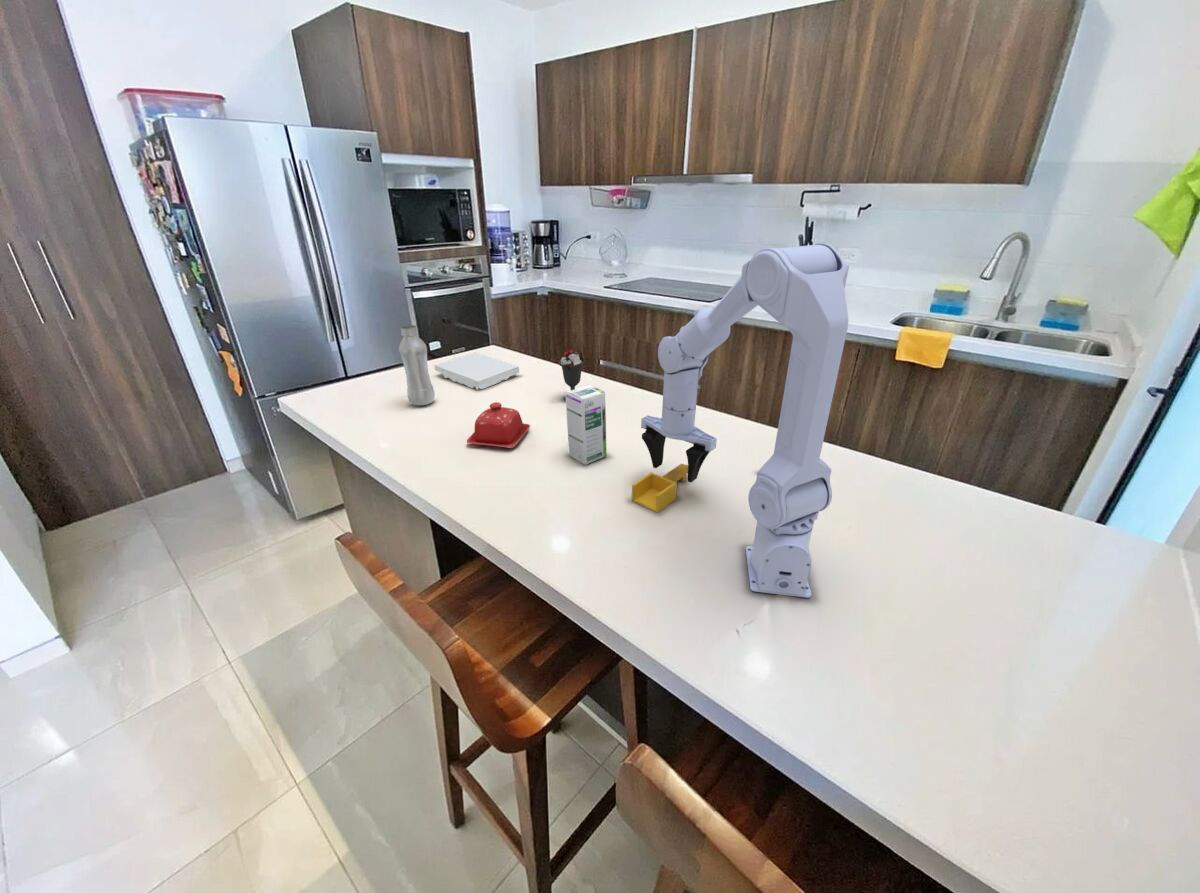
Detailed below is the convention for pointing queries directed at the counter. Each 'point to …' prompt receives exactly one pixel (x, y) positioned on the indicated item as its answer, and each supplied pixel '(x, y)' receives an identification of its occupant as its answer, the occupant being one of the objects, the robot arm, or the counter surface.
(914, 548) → the counter surface
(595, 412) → the syrup box
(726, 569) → the counter surface
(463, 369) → the food packaging
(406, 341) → the plastic bottle
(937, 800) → the counter surface
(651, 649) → the counter surface
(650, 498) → the scoop
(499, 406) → the butter dish
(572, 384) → the sundae
